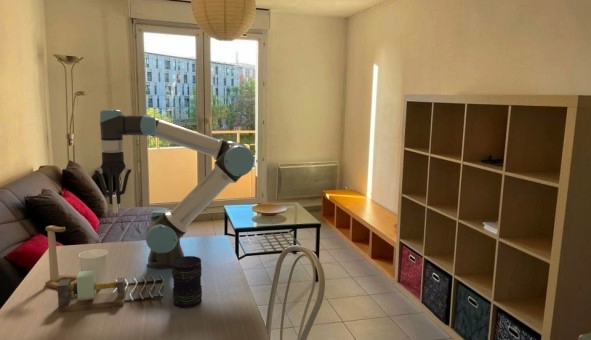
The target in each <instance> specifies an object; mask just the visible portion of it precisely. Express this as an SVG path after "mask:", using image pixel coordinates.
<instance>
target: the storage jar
mask: <svg viewBox="0 0 591 340" xmlns="http://www.w3.org/2000/svg"><path fill="white" fill-rule="evenodd" d="M172 265H173V266H172V268H171V273H172V275H171V276H172V280H173V281H172V282H173V287H172V300H173V306H174V307H175V308H178V309H182V310H183V309H188V310H189V309H193V308H196V307H199V305H201V304H202V301H203V299H202V297H203V290H202V282H201V281H202V280H201V279H202V278H201V277H202V269H203V267H202V259H201V257H199V256H195V255H194V256H193V255H184V257H179V258H176V259H174V260H173V261H172Z"/></svg>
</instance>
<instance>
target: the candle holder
mask: <svg viewBox="0 0 591 340" xmlns="http://www.w3.org/2000/svg"><path fill="white" fill-rule="evenodd" d="M78 261H79V262H78V263H79V269H80V272H82V271H93V270H95V273H96V283H106V282H108V280H107V279H108V250H106V249H103V248H102V249H100V248H95V249H88V250H85V251H82V252H80V253H79V254H78Z"/></svg>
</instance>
